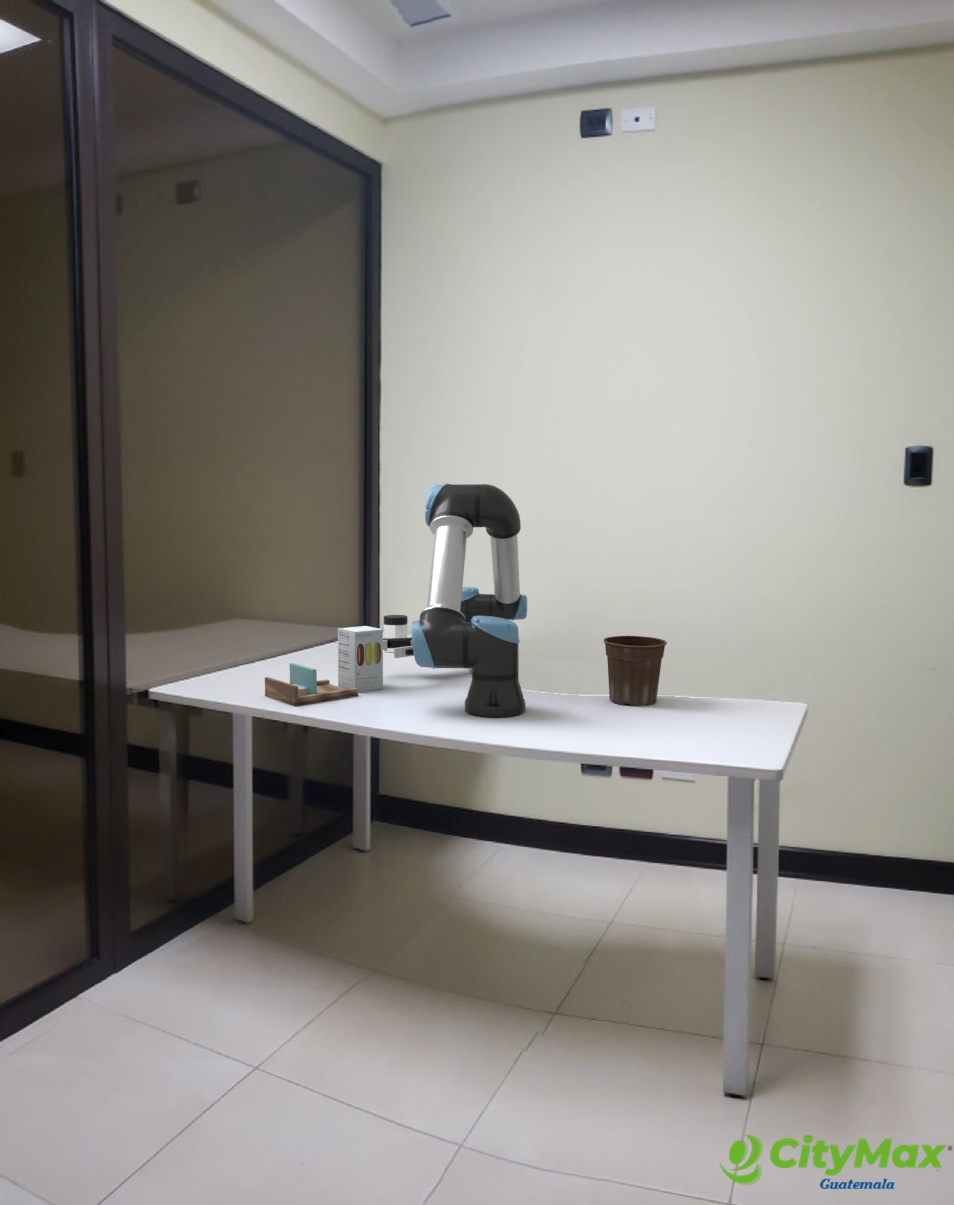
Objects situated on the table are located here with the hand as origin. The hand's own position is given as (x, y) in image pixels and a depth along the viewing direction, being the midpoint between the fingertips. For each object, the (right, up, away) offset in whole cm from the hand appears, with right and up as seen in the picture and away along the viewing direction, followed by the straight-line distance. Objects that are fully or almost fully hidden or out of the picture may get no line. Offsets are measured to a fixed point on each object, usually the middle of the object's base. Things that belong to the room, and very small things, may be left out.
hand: (380, 649), depth 265 cm
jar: (-1, -3, +57) cm, 57 cm away
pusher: (-20, -11, -16) cm, 28 cm away
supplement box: (-5, -11, -4) cm, 12 cm away
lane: (-17, -12, -13) cm, 24 cm away
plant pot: (+68, -13, -19) cm, 72 cm away
